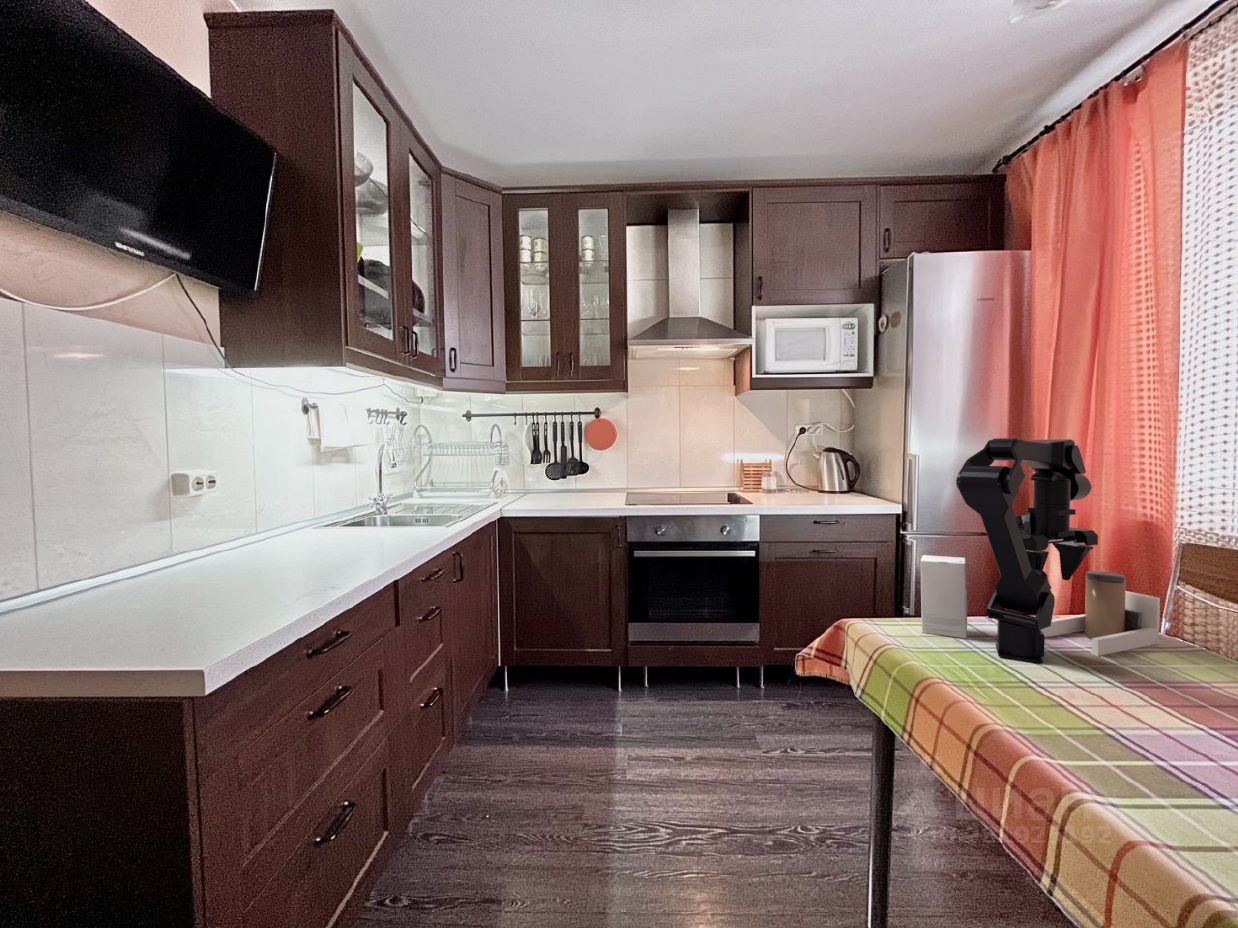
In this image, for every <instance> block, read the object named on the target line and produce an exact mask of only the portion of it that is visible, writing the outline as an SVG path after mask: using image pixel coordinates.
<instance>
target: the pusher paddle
mask: <svg viewBox="0 0 1238 928" xmlns="http://www.w3.org/2000/svg"><path fill="white" fill-rule="evenodd" d="M1141 622H1142V612H1137V611H1133V610H1129V609H1125V632H1128V631H1133V630H1139V629H1141Z"/></svg>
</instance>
